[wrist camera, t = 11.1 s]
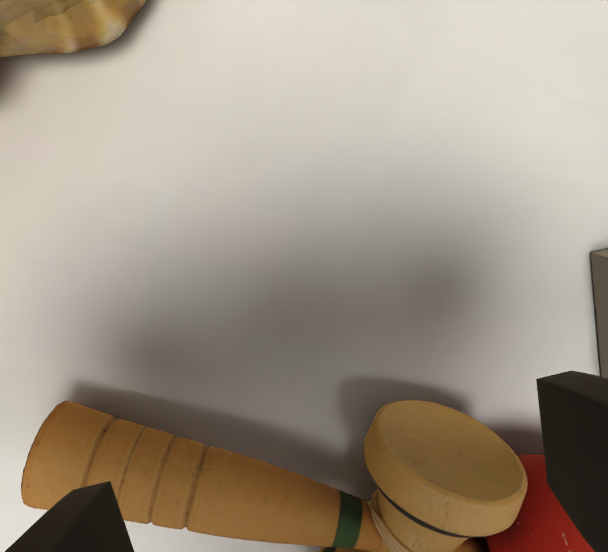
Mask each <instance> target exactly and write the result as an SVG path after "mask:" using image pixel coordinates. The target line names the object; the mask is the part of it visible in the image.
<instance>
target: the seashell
mask: <svg viewBox="0 0 608 552" xmlns="http://www.w3.org/2000/svg"><path fill="white" fill-rule="evenodd" d="M145 1H146V0H0V57H6V56H16V55H26V54H40V53H72V52H77V51H82V50H87V49H90V48H94V47H97V46H103V45H107V44H109V43H110V42H112V41H114V40H115V39H117V38H118V37H120V36H121V35H122V33H123V32H124V31H125V29H126V28H127V27H128V25H129V24H130V23H131V21H132V20H133V19H134V17H135V16H136V14H137V13H138V12H139V10H140V9H141V7H142V6H143V4H144V3H145Z"/></svg>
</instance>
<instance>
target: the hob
mask: <svg viewBox="0 0 608 552" xmlns="http://www.w3.org/2000/svg"><path fill="white" fill-rule="evenodd" d="M591 263H592V275H593V286H594V298H595V309H596V320H597V332H598V343H599V355H600V366H601V377H603V378H607V379H608V249H605V250H601V251H597V252H593V253H591Z"/></svg>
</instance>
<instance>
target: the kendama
mask: <svg viewBox="0 0 608 552" xmlns="http://www.w3.org/2000/svg"><path fill="white" fill-rule="evenodd" d="M363 447H364V459H365V462H366V466H367V468H368V471H369V473H370V475H371V477H372V478H373V480H374V482H375V484H376V486H377V490H376V491H374V493H373V494H372V497H371V499H370V500H369V501H365V500H362V499H360V498H358V497H354V496H352V495H349V494H347V493H345V492H343V491H340V490H338V489H335V488H332V487H330V486H328V485H325V484H322V483H320V482H317V481H314V480H312V479H309V478H307V477H304V476H302V475H299V474H297V473H294V472H291V471H289V470H286V469H283V468H280V467H277V466H275V465H272V464H269V463H266V462H263V461H260V460H257V459H254V458H251V457H248V456H245V455H242V454H238V453H235V452H231V451H229V450H225V449H222V448H218V447H213V446H211V447H208V448H207V447H206V445H205V444H204V443H201V442H197V441H194V440H191V439H187V438H183V437H177V438H176V437H175V436H174V435H173V434H171V433H168V432H164V431H161V430H158V429H154V428H147V427H146V426H144V425H142V424H139V423H135V422H132V421H128V420H125V419H116V417H114V416H113V415H109V414H107V413H104V412H101V411H98V410H95V409H92V408H89V407H86V406H84V405H81V404H79V403H74V402H70V401H64V402H62V403H60V404H58V405H57V406H56V407H55V408H54V409H53V411H52V412H51V413H50V414H49V416H48V417H47V418H46V419H45V421H44V422H43V424H42V426H41V427H40V429H39V431H38V434H37V435H36V437H35V440H34V442H33V444H32V446H31V449H30V451H29V454H28V457H27V461H26V465H25V468H24V470H23V476H22V483H21V494H22V499H23V503H24V504H25V505H27V506H29V507H32V508H37V509H45V510H49V509H51V508H52V507H53V506H54V505H55V504H56V503H57V502H58V501H60V500H61V499H62V498H63V497H64V496H66V495H67V494H68V493H69V492H71V491H72V490H74V489H78V488H82V487H86V486H91V485H95V484H99V483H103V482H107V481H111V484H112V487H113V490H114V493H115V496H116V499H117V502H118V505H119V508H120V511H121V514H122V517H123V520H126V521H132V522H138V523H144V524H148V523H150V522H152V523H153V524H154V525H157V526H162V527H168V528H173V529H183V528H184V527H187V529H188V530H189V531H193V532H197V533H203V534H210V535H215V536H222V537H229V538H236V539H243V540H251V541H261V542H270V543H283V544H296V545H308V546H322V548H321V549H320V551H319V552H595V551H594V550H593V549H592V548H591V546H590V545H589V544H588V543H587V542H586V540H585V539H584V538H583V537H582V535H581V534H580V532H579V531H578V529H577V528H576V527H575V525H574V524H573V522H572V521H571V519H570V518H569V516H568V515H567V513H566V512H565V510H564V509H563V507H562V506H561V504H560V503H559V501H558V499H557V498H556V496H555V495H554V493H553V492H552V490H551V489H550V487H549V485H548V484H547V475H546V466H545V456H544V455H539V454H529V455H519V456H517V455H516V454H515V453H514V451H513V450H512V449H511V448H510V446H509V445H508V444H507V443H505V442H504V441H503V440H502V439H501V438H500V437H499V436H498V435H497V434H496V433H494V432H493V431H492V430H490V429H489V428H488V427H486V426H485V425H484V424H482V423H480V422H479V421H477V420H475V419H474V418H472V417H470V416H468V415H467V414H465V413H462V412H460V411H458V410H455V409H453V408H450V407H447V406H444V405H441V404H437V403H433V402H428V401H421V400H402V401H395V402H392V403H388V404H385V405H384V406H383V407H382V408H380V409H379V410H378V411H377V412H376V415H375V418H374V420H373V422H372V424H371V426H370V428H369V430H368V432H367V435H366V437H365V440H364V444H363Z"/></svg>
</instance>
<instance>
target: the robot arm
mask: <svg viewBox="0 0 608 552" xmlns="http://www.w3.org/2000/svg"><path fill="white" fill-rule="evenodd" d="M536 380H537V390H538V399H539V409H540V418H541V428H542V437H543V447H544V456H545V466H546V475H547V484H548V485H549V487H550V489H551V490H552V492H553V493H554V495H555V496H556V498H557V499H558V501H559V503H560V504H561V506H562V507H563V509H564V510H565V512H566V513H567V515H568V516H569V518H570V519H571V521H572V522H573V524H574V525H575V527H576V528H577V529H578V531H579V532H580V534H581V535H582V537H583V538H584V539H585V540H586V542H587V543H588V544H589V545H590V546H591V548H592V549H593V550H594V551H595V552H608V379H607V378H603V377H599V376H595V375H591V374H586V373H581V372H576V371H568V372H564V373H560V374H555V375H551V376H547V377H543V378H539V379H536ZM5 552H134V550H133V547H132V544H131V541H130V538H129V535H128V532H127V529H126V526H125V523H124V520H123V517H122V514H121V511H120V508H119V505H118V502H117V499H116V496H115V493H114V490H113V487H112V484H111V481H107V482H103V483H99V484H95V485H91V486H86V487H82V488H78V489H74V490H72V491H71V492H69V493H68V494H67V495H66V496H64V497H63V498H62V499H61V500H60V501H58V502H57V503H56V504H55V505H54V506H53V507H52V508H51V509H49V510H48V511H47V512H46V513H45V514H44V515H43V516H42V517H41V518H40V519H39V520H38V521H37V522H35V523H34V524H33V525H32V526H31V527H30V528H29V529H28V530H27V531H26V532H25V533H24V534H23V535H22V536H21V537H20V538H19V539H18V540H17V541H16V542H14V543H13V544H12V545H11V546H10V547H9V548H8V549H7V550H6V551H5Z"/></svg>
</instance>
